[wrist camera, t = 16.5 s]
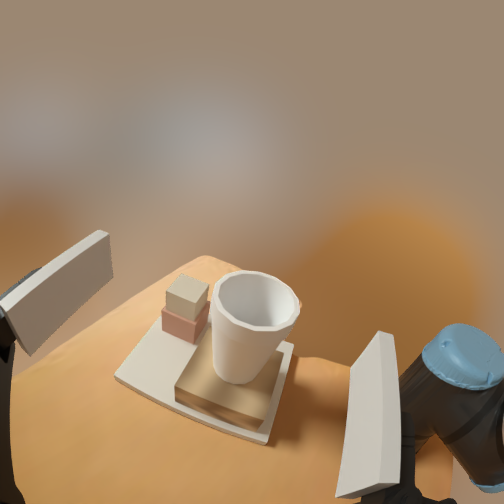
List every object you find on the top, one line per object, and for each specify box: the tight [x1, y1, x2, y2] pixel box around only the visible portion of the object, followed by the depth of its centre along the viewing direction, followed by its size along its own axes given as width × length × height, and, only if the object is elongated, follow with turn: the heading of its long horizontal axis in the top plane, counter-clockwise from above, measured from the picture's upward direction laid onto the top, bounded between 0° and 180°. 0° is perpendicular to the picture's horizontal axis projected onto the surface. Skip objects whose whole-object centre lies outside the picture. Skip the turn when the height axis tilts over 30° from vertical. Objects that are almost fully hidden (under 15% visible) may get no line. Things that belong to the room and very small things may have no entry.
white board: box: [114, 314, 294, 445], centre depth 41 cm, size 24×20×2 cm
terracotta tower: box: [162, 273, 210, 344], centre depth 43 cm, size 6×6×9 cm
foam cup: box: [210, 270, 300, 384], centre depth 32 cm, size 10×9×13 cm
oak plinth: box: [174, 326, 284, 432], centre depth 36 cm, size 12×12×5 cm
